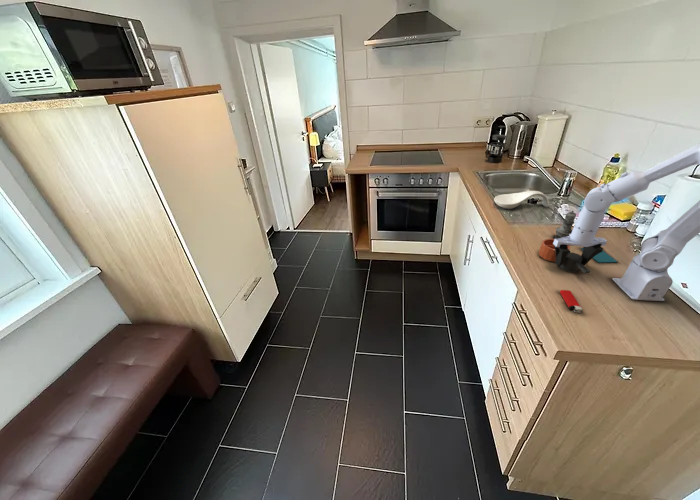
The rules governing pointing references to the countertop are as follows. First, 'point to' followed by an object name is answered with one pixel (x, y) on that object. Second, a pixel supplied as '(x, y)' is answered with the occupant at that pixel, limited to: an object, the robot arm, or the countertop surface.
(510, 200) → the spoon rest
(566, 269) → the scoop
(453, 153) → the countertop surface
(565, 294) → the lighter
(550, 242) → the bowl
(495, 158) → the french press
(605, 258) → the cloth
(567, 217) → the grey tall lumpy piece
